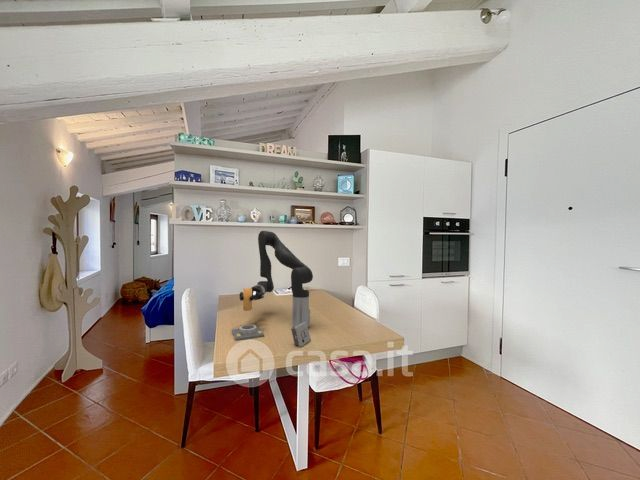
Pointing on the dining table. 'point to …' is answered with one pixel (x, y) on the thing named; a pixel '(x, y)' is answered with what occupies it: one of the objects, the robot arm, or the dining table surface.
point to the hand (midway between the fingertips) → (245, 298)
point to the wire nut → (247, 299)
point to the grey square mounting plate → (247, 332)
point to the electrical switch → (301, 334)
